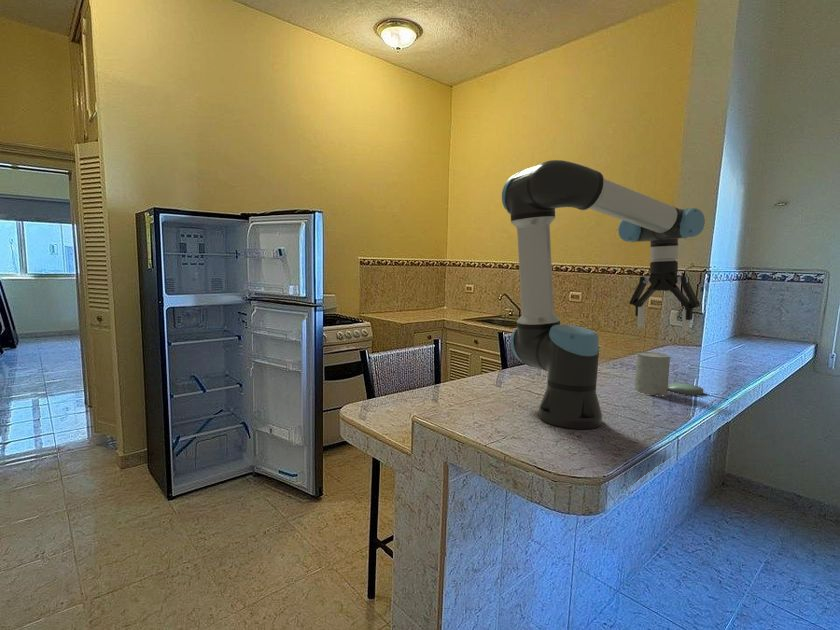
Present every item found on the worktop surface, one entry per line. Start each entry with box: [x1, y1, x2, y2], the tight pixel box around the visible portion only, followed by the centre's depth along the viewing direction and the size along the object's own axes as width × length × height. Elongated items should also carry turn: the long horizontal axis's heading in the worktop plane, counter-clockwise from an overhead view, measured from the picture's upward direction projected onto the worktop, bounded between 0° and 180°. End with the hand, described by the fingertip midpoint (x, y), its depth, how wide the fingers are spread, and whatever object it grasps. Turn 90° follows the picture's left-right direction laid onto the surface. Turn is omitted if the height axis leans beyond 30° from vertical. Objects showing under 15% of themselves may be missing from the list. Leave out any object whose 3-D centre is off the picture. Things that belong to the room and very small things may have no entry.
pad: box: [667, 382, 704, 396], centre depth 142 cm, size 11×11×2 cm
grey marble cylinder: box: [634, 351, 671, 397], centre depth 139 cm, size 10×10×12 cm
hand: (662, 328), depth 137 cm, fingers open, 13 cm apart
